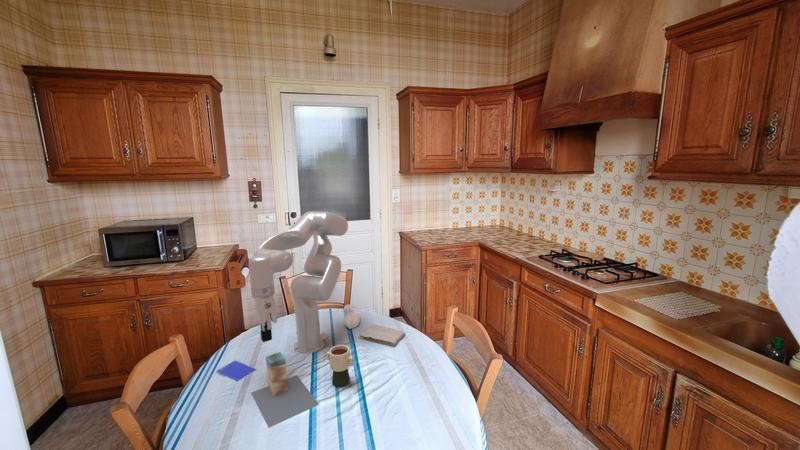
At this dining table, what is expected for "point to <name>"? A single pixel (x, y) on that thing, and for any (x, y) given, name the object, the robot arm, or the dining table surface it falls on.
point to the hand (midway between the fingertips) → (266, 340)
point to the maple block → (276, 373)
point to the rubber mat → (284, 402)
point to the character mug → (340, 364)
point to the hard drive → (235, 370)
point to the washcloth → (382, 335)
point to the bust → (351, 317)
